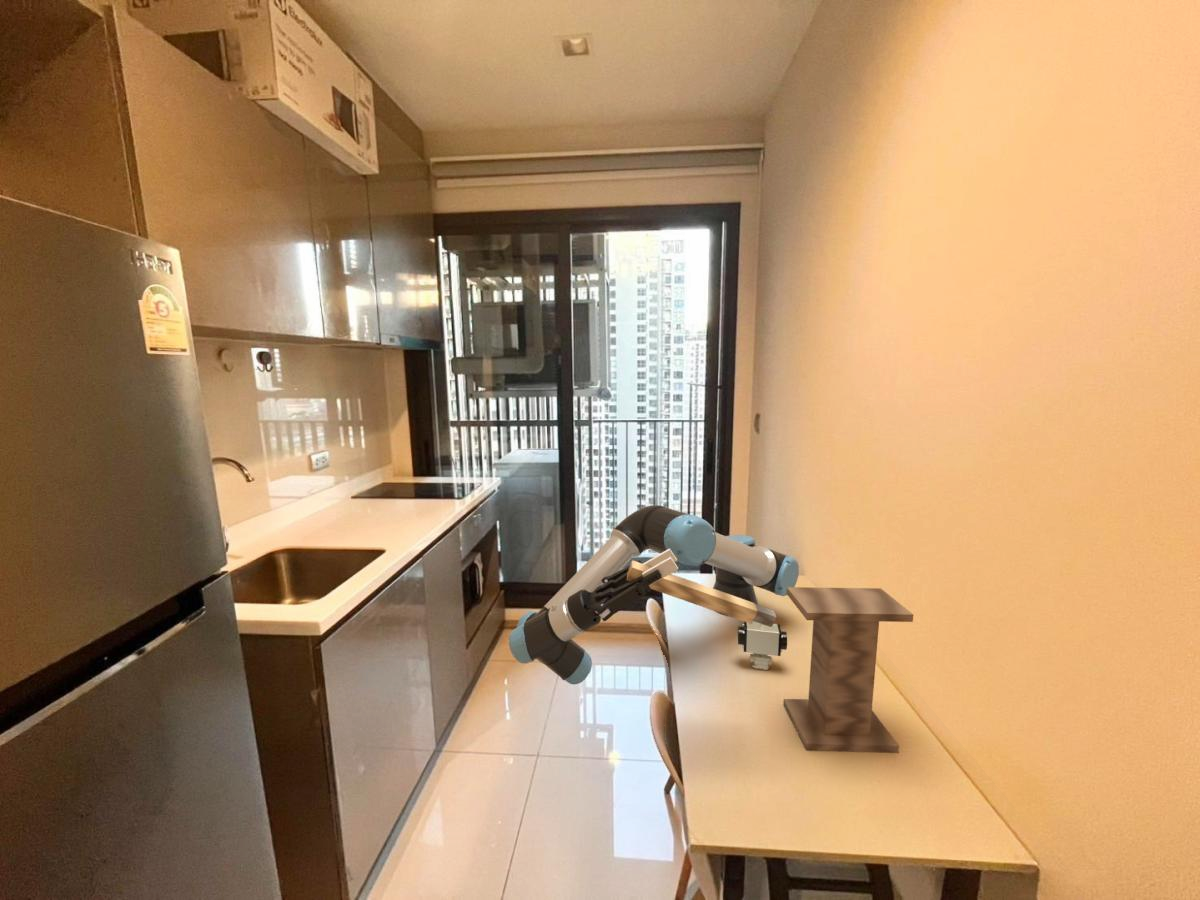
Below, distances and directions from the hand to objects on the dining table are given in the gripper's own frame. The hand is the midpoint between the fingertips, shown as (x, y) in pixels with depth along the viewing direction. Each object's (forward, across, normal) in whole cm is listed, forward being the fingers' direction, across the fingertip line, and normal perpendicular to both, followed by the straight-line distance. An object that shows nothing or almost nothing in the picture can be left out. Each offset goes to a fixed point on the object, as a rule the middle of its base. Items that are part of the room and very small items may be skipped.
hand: (673, 558), depth 98 cm
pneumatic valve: (-2, +24, +48) cm, 54 cm away
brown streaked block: (+2, 0, +9) cm, 9 cm away
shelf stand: (+8, +2, +52) cm, 53 cm away
